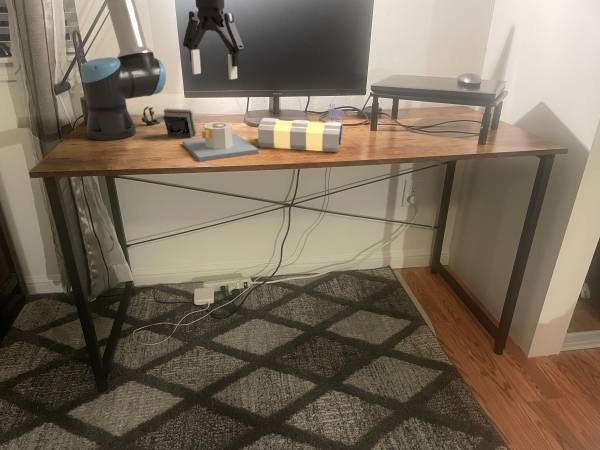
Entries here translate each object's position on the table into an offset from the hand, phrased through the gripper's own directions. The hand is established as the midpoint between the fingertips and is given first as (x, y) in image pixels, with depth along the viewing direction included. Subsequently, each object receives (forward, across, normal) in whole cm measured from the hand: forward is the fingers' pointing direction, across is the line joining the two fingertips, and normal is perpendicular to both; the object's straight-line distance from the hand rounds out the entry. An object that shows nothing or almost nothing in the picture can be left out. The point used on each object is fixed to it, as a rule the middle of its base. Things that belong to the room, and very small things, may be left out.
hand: (214, 76), depth 126 cm
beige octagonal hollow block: (+20, 0, -1) cm, 20 cm away
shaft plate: (+21, 0, 0) cm, 21 cm away
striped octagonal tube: (+22, +19, +18) cm, 34 cm away
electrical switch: (+22, -19, +3) cm, 29 cm away
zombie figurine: (+22, -39, +11) cm, 46 cm away
